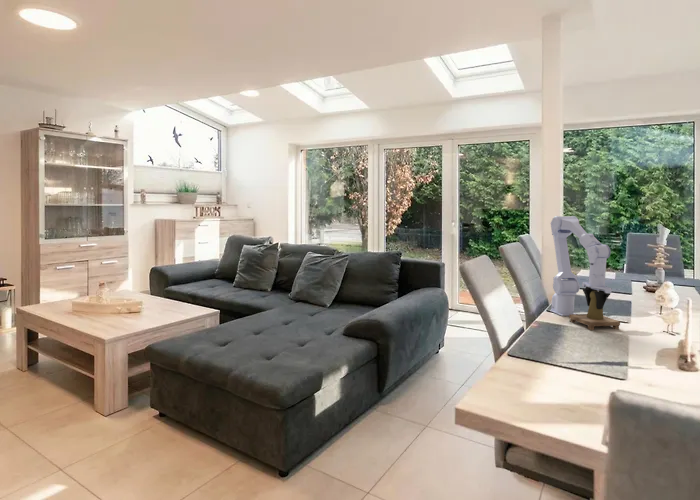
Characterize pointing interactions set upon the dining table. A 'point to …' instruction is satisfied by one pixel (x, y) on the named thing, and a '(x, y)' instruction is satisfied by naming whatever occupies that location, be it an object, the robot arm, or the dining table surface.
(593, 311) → the olive bulb-shaped piece
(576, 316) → the tan square board
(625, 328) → the dining table surface
